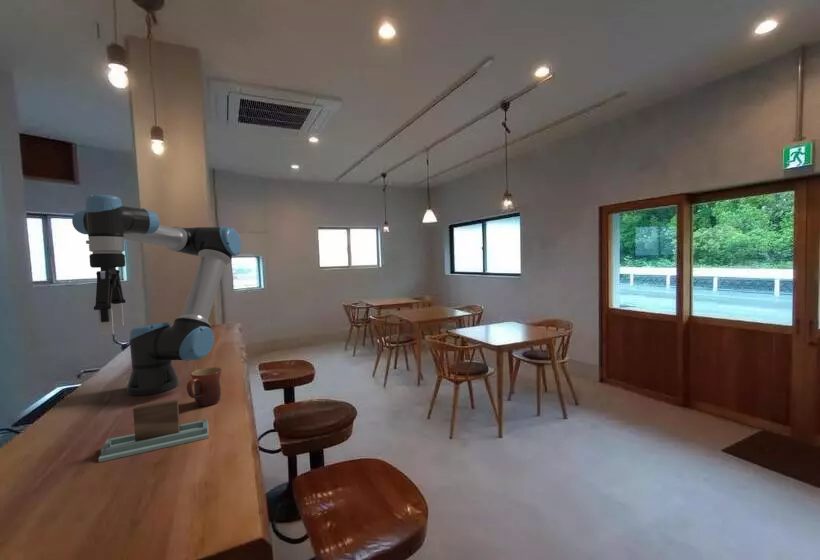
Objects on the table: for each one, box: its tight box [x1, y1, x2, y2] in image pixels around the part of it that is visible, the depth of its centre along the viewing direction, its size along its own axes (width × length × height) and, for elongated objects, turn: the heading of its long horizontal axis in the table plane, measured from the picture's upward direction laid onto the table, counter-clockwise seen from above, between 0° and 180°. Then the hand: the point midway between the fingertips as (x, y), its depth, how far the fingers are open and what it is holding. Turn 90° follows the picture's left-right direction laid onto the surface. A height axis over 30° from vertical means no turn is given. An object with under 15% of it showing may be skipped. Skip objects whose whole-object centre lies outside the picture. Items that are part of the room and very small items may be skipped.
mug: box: [186, 366, 223, 407], centre depth 116 cm, size 12×9×10 cm
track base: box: [98, 418, 210, 463], centre depth 93 cm, size 9×22×2 cm, turn 119°
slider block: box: [132, 398, 181, 442], centre depth 93 cm, size 3×9×9 cm, turn 117°
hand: (112, 330), depth 102 cm, fingers open, 13 cm apart
